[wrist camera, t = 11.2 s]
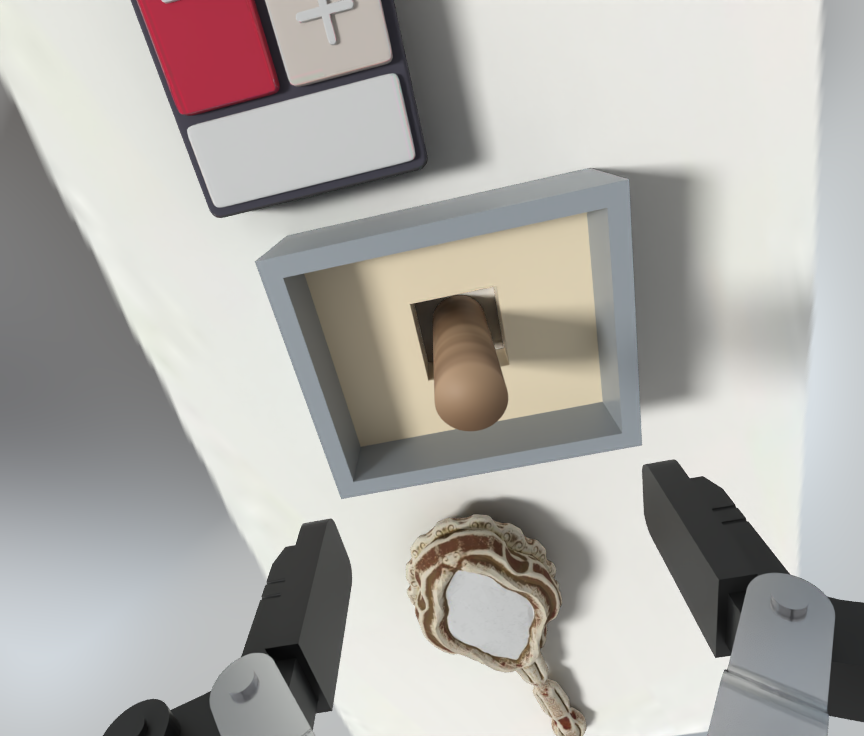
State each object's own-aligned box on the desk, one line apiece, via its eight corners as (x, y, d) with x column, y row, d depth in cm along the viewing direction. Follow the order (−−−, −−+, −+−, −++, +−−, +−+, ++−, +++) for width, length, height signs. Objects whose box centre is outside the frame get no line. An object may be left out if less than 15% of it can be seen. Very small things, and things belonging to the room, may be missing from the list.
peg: (427, 300, 31) (427, 374, 22) (480, 289, 31) (502, 359, 22) (438, 349, 32) (442, 437, 23) (489, 338, 32) (513, 423, 23)
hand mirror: (518, 771, 48) (361, 584, 34) (519, 702, 53) (382, 512, 39) (638, 772, 44) (518, 562, 30) (627, 697, 49) (519, 485, 35)
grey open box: (286, 235, 29) (255, 261, 24) (589, 167, 28) (629, 179, 22) (354, 440, 35) (341, 498, 30) (607, 393, 34) (641, 445, 28)
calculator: (333, -274, 18) (428, 167, 24) (351, -198, 22) (429, 165, 28) (51, -182, 19) (205, 222, 25) (116, -125, 23) (237, 213, 29)
